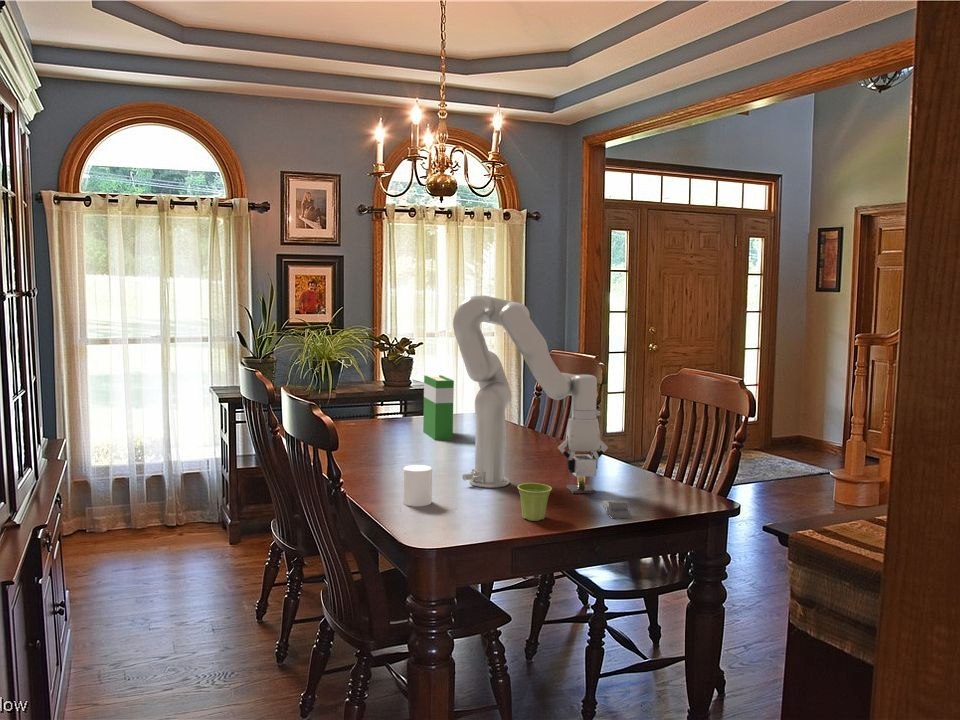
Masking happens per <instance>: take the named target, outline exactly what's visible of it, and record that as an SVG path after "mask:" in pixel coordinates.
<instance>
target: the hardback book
mask: <svg viewBox="0 0 960 720" xmlns="http://www.w3.org/2000/svg"><path fill="white" fill-rule="evenodd" d="M454 386H455V381H454V380H453V379H451V378H450V377H449V378H448V377H446V376H444V375H442V374H440V375H438V376H429V375H423V417H422V418H423V425H422V426H423V427H422V428H423V430H422V432H423V433H424V434H425V435H426V436H428V437H429V438H431V439H432V440H433V441H450V440H451V441H452V440H453V439H454V437H453V434H454V433H453V432H454V400H455V399H454V394H455V393H454V391H455V388H454Z"/></svg>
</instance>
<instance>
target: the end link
mask: <svg viewBox="0 0 960 720" xmlns="http://www.w3.org/2000/svg"><path fill="white" fill-rule="evenodd" d="M573 460H574V473H571V474H572V475H573V476H574V477H576V478H577V477H585V478H586V477H587V478H588V477H597V469H596V467H597V468H598V461H597V460H596V459H594V458H593V457H592V456H591V455H590V454H574V457H573Z"/></svg>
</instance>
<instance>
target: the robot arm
mask: <svg viewBox="0 0 960 720" xmlns="http://www.w3.org/2000/svg"><path fill="white" fill-rule="evenodd" d="M530 317H531V314H530V311H529V309H528V307H527V306H526V305H524V304H523V303H521V302H517V301H511V300H507V299H506V300H505V299H502V298H498V297H493V296H488V295H474V296H473V295H472V296H470V297H467V298H466V299H464V300H463V301H462V302H461V304H460V305H459V306H458V307H457V309H456V311H455V312H454V315H453V319H452V322H453V323H452V325H453V326H452V327H453V332H454V336H455V338H456V341H457V344H458V347H459V350H460V354H461V358H462V360H463V363H464V366H465V369H466V370H465V371H466V372H467V374H468V375H467V376H468V377H469V378H470V379H471V380H472V381H473V382H476V383H478V386H479V391H477V394H475V395H476V396H475V399H474V414H475V416H474V417H475V446H474V448H475V450H474V468H473V469H472V470H471V472H470V473H464V474H463V475H462V480H463V481H469V484H471V485H472V486H474V487H479V488H486V489H487V488H490V489H491V488H493V489H494V488H496V489H497V488H502V487H506V486H508V485H509V484H510V479H509V478H508V477H506V476H505V467H506V465H505V464H506V429H507V428H506V425H507V424H506V408H507V407H508V406H509V405H510V403H511V401H512V391H511V387H510V385H509V382H508V378H507V375H506V373H505V370H504V367H503V364H502V361H501V359H500V358H499V356H498V355H496V354H495V353H494V352H492V351H490V350H489V348H488V345H487V341H486V338H485V337H484V336H485V335H483V334H484V333H483V332H482V330H481V323H488V324H493V325H496V326H501V327H502V328H503V329H504V331H505V332H506V334H507V335H508V336H509V338H510V340H512V342H513V344H514V345H515V346H516V348H517V349H518V351H519V352H520V354H521V356H522V357H523V359H524V362H525V363H526V365H527V366H528V368H529V370H530V372H531V374H532V375H533V377H534V379H535V380H536V382H537V383H538V385H539V386H540V387H541V389H542V391H544V393H545V394H546V396H547V397H548V398H550V399H553V400H555V401H560V400H564V399H565V398H566V397H568V396H571V417H570V418H568V419H567V425H566V433H565V434H566V435H565V440H564V441H563V442H562V443H561V444H559V445H558V446H557V449H558V450H559V452H561V453H562V454H563V456H565V457H566V458H567V470H568V472H570V473H571V474H572V473H574V460H573V457H574V455H576V453H578V452H579V453H580V452H586V453H587V452H590V453H591V455H592V457H593V458H594V459H596V460H597V462H598V460H599V459H600V457H601V456H602V455H603V454H604V453H605V452H606V451H607V450H608V447H609V446H607V444H606V443H604V441H603V440H602V439H601V432H600V423H599V418H597V417H598V416H601V415H602V414H601V410H598V409H597V396H598V395H597V394H598V392H597V391H598V379H597V377H596V376H595V375H593V374H572V373H567V372H561V371H560V370H559V368H558V367H557V365H556V364H555V362H554V361H553V359H552V357H551V355H550V354H551V353H550V352H549V348H548V344H547V343H548V342H547V341H546V339H545V338H544V336H543V335H542V333H541V332H540V331H539V329H538V327H536V325H535V324H534V322H533V320H532V319H531V318H530ZM565 448H566V449H567V450H568V451H566V449H565ZM596 470H598V466H597V467H596Z"/></svg>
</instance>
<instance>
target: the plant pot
mask: <svg viewBox="0 0 960 720" xmlns="http://www.w3.org/2000/svg"><path fill="white" fill-rule="evenodd" d="M517 489H518V492H519V496H520V497H519V498H520V505H521V517H522V519H524V520H525V519H526V520H527V521H531V522H532V521H535V522H538V521H541V520H545V518H546V511H547V505H548V500H549V496H550V494H551V491H553V489H552V486H550V485H549V484H544V483H537V482H526V483H525V482H524V483H521V484H518V485H517Z"/></svg>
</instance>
